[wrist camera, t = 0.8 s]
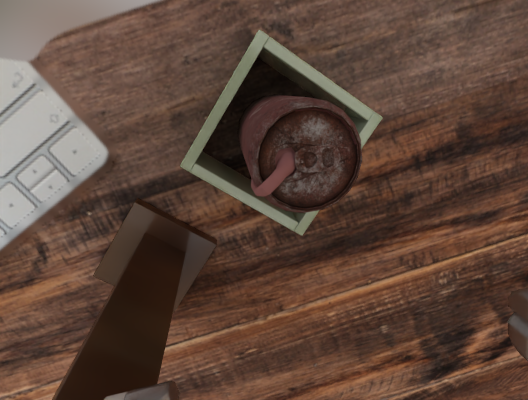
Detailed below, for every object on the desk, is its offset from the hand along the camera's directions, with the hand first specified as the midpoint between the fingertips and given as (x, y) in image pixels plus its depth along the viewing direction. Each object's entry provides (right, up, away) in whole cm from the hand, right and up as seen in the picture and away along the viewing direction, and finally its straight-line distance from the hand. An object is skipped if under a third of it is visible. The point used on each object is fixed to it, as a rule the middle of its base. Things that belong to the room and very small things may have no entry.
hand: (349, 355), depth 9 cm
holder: (-1, +10, +23) cm, 25 cm away
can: (-1, +10, +23) cm, 25 cm away
